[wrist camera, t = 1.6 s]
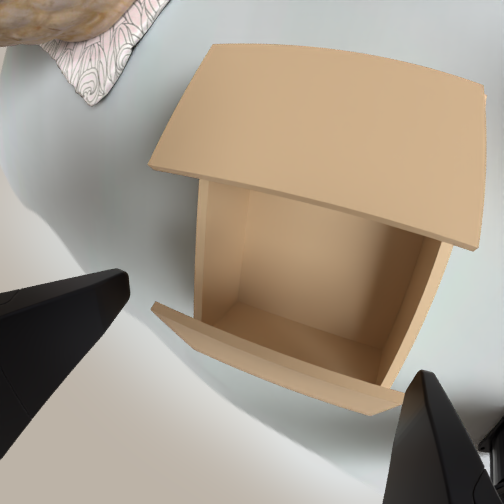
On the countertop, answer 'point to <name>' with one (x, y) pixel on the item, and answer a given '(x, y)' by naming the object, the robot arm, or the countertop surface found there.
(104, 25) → the cookie jar
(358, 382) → the far flap
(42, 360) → the robot arm
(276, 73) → the near flap
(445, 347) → the countertop surface
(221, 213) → the carton
